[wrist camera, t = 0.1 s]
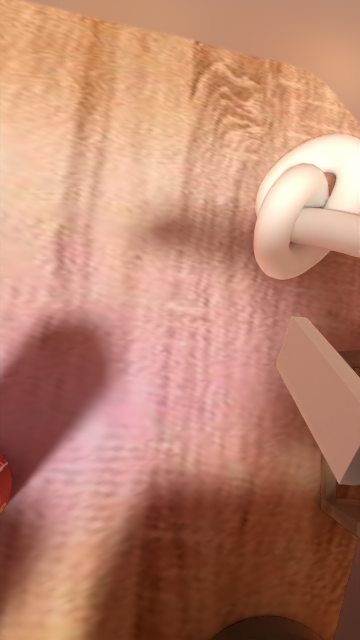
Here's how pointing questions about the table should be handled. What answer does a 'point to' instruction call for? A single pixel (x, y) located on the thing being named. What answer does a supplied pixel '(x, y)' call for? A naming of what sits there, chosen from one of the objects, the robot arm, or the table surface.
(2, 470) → the smoothie
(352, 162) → the white knot sculpture
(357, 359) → the brown u-shaped frame
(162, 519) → the table surface
